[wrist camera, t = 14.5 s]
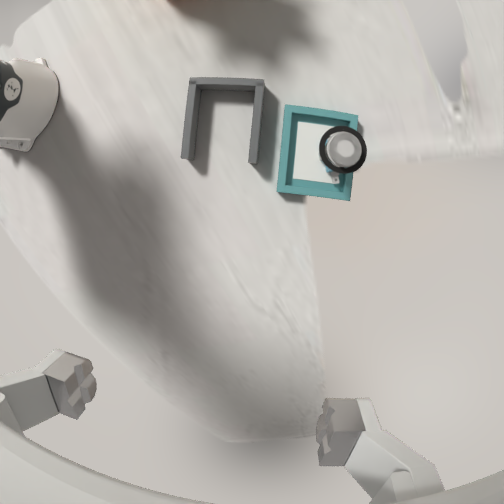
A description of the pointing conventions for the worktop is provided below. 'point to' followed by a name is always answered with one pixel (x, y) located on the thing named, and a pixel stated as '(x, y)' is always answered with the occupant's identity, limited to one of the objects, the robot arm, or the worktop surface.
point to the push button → (342, 151)
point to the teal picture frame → (310, 153)
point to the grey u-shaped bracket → (221, 84)
